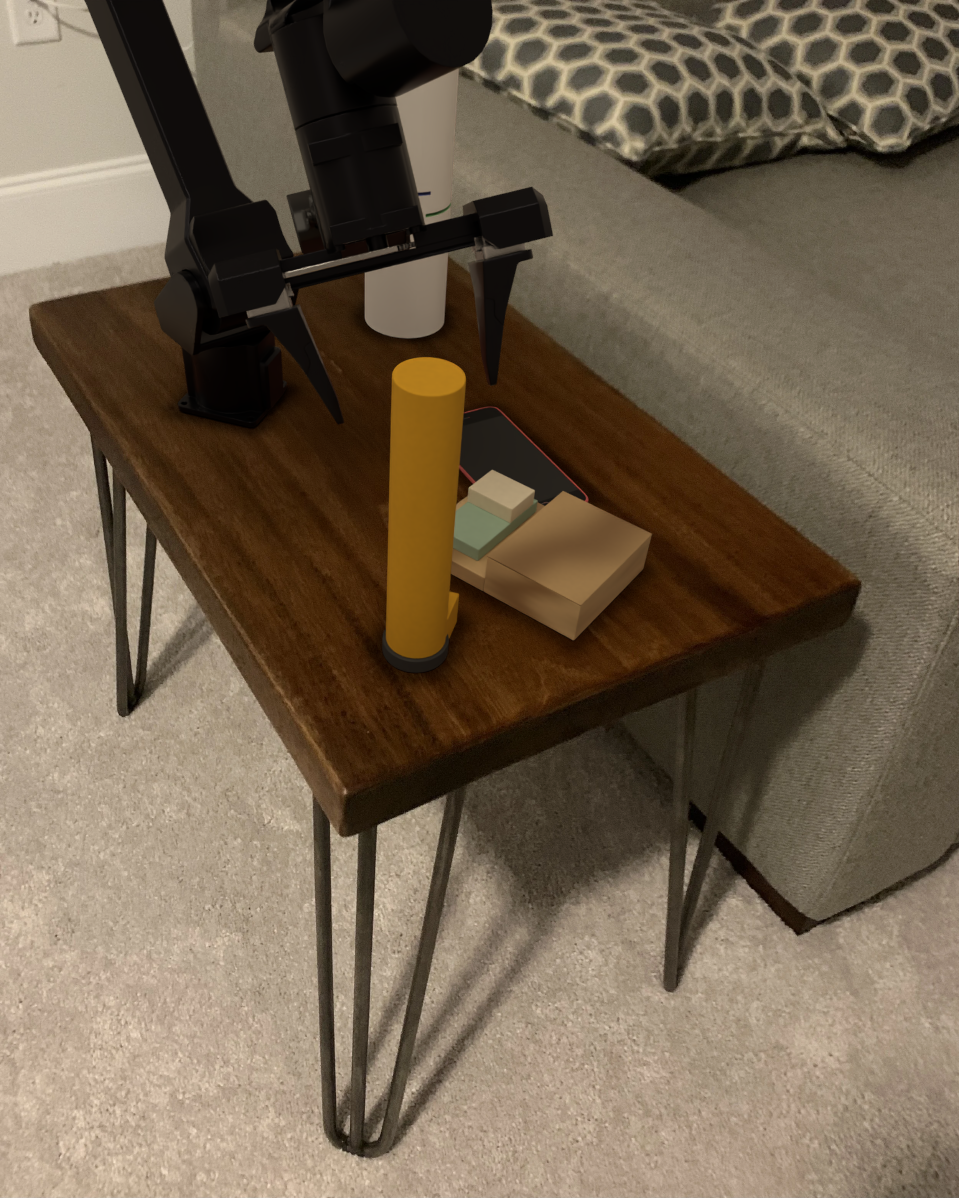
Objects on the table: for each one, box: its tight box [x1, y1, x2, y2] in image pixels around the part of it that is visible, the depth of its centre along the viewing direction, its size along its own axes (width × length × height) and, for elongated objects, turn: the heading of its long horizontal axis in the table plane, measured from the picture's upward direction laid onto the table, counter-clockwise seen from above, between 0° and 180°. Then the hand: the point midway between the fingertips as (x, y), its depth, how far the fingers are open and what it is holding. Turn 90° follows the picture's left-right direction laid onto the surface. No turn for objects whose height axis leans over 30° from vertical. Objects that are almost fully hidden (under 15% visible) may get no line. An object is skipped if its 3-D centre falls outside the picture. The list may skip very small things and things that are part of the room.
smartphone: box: [459, 406, 589, 506], centre depth 78 cm, size 7×1×14 cm
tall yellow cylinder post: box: [381, 356, 467, 674], centre depth 57 cm, size 5×4×19 cm
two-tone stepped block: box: [453, 470, 538, 561], centre depth 70 cm, size 7×4×2 cm, turn 144°
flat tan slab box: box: [451, 491, 653, 641], centre depth 69 cm, size 13×9×3 cm
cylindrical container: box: [364, 68, 460, 339], centre depth 85 cm, size 7×7×25 cm
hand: (417, 403), depth 61 cm, fingers open, 9 cm apart
